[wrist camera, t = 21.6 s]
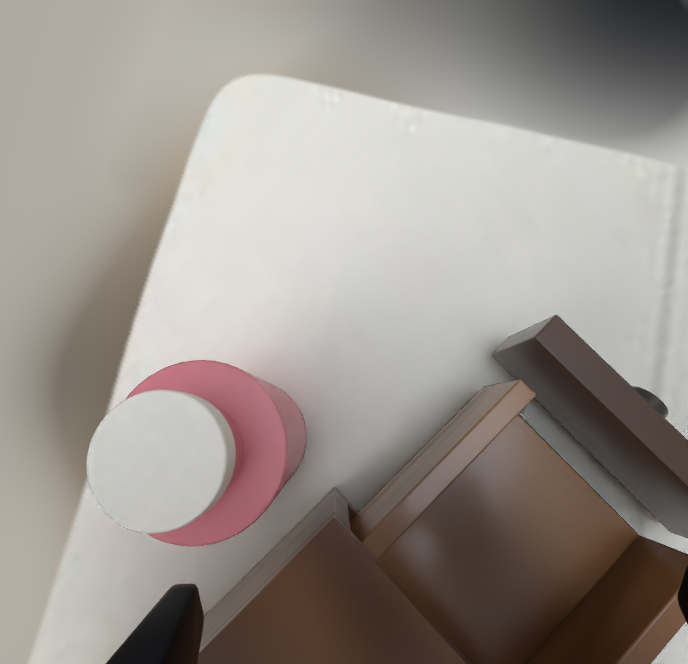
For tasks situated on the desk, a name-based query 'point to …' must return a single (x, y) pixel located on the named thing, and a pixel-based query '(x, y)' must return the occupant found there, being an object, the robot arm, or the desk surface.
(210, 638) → the cabinet
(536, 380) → the drawer
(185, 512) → the lotion bottle
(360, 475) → the desk surface
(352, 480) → the desk surface
